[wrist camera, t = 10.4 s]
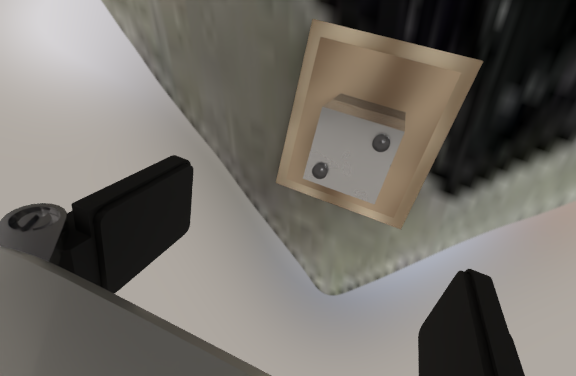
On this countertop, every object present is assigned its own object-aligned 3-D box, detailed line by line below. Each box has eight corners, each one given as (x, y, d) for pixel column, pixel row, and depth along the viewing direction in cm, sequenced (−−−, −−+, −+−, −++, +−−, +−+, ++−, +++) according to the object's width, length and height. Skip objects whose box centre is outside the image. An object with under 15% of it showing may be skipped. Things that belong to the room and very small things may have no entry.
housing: (405, 112, 23) (404, 133, 17) (381, 171, 25) (373, 206, 20) (340, 93, 24) (321, 107, 18) (323, 152, 26) (301, 180, 21)
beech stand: (475, 59, 22) (484, 61, 20) (401, 215, 29) (400, 231, 27) (321, 21, 25) (311, 18, 22) (285, 173, 32) (274, 184, 29)
